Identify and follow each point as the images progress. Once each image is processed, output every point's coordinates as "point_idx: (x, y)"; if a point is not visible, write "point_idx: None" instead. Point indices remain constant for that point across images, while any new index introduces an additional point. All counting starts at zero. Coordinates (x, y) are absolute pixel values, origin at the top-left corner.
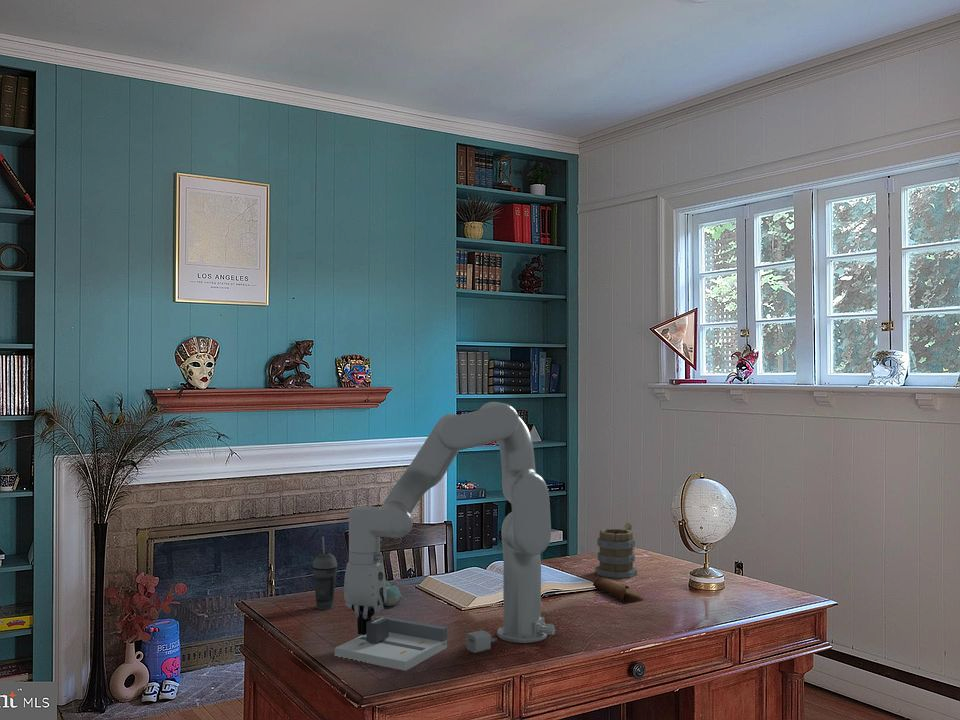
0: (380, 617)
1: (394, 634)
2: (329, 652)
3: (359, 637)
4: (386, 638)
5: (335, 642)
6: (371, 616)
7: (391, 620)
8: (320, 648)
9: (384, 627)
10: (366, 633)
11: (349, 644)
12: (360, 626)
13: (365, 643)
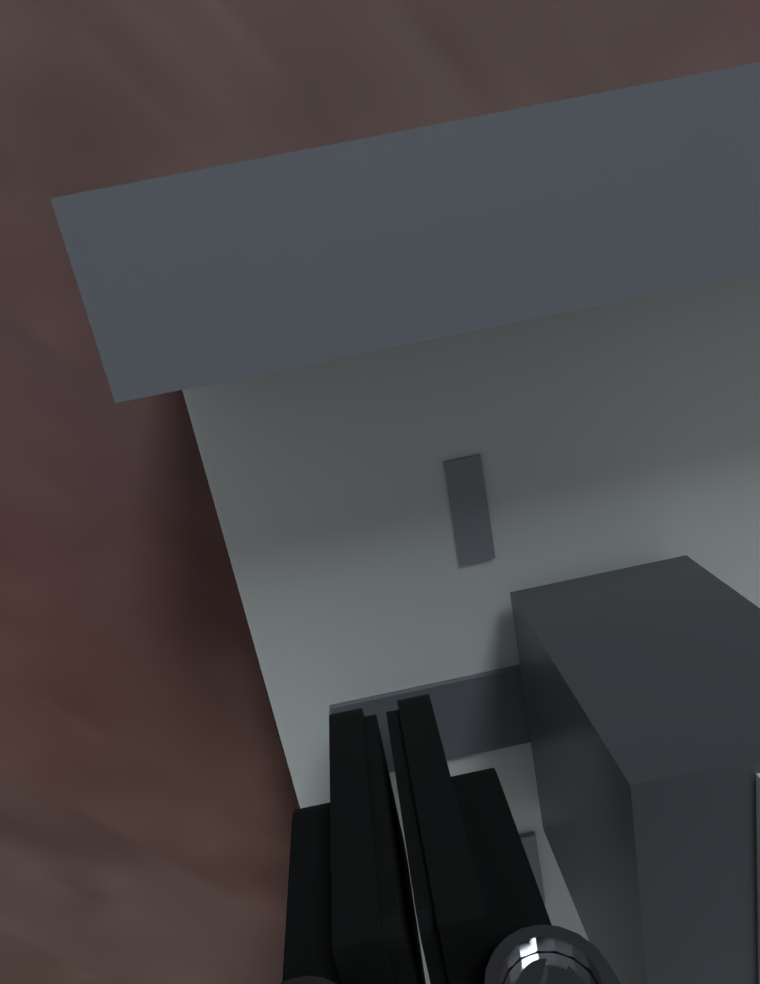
0: (688, 775)
1: (614, 345)
2: (243, 964)
3: (312, 747)
4: (637, 553)
5: (8, 778)
6: (573, 968)
7: (587, 307)
8: (74, 961)
9: None
10: (579, 912)
11: (421, 950)
12: (421, 960)
13: (542, 827)
